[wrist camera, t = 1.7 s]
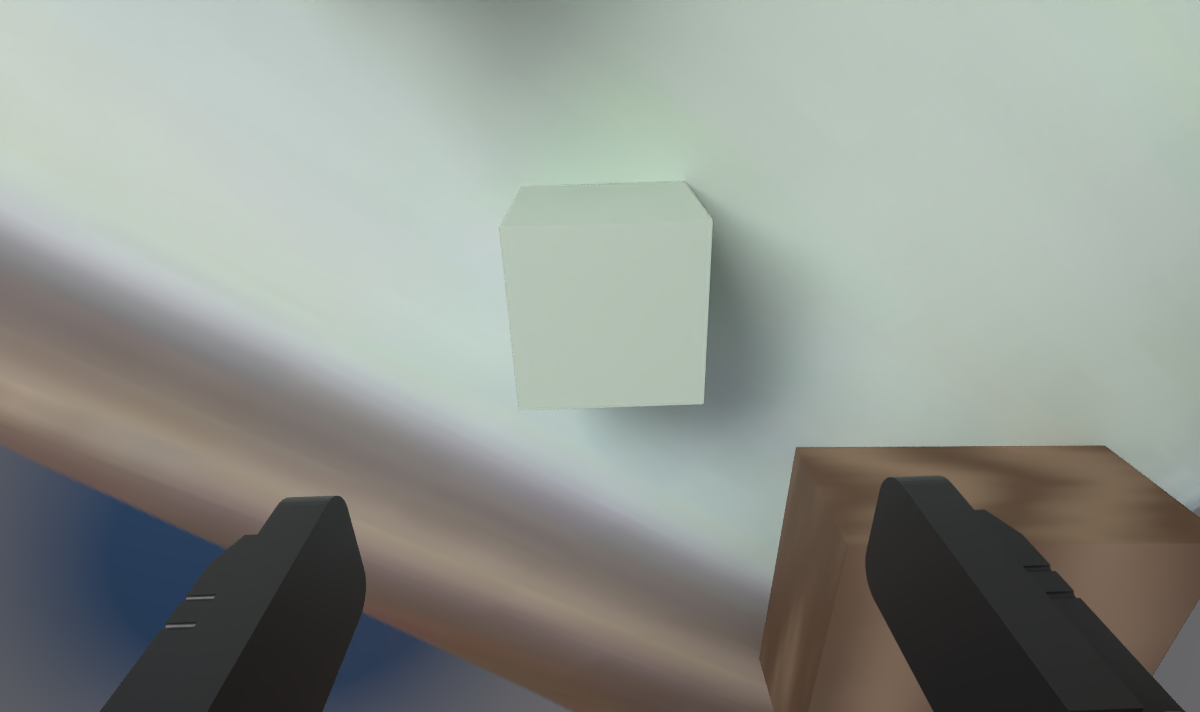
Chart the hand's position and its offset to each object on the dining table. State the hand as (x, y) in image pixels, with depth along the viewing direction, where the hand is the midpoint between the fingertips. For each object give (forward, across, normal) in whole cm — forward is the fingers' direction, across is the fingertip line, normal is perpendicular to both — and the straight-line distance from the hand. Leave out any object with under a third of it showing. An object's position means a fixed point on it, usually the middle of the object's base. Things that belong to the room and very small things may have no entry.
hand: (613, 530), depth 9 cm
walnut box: (+14, -14, +15) cm, 25 cm away
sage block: (+14, 0, 0) cm, 14 cm away
